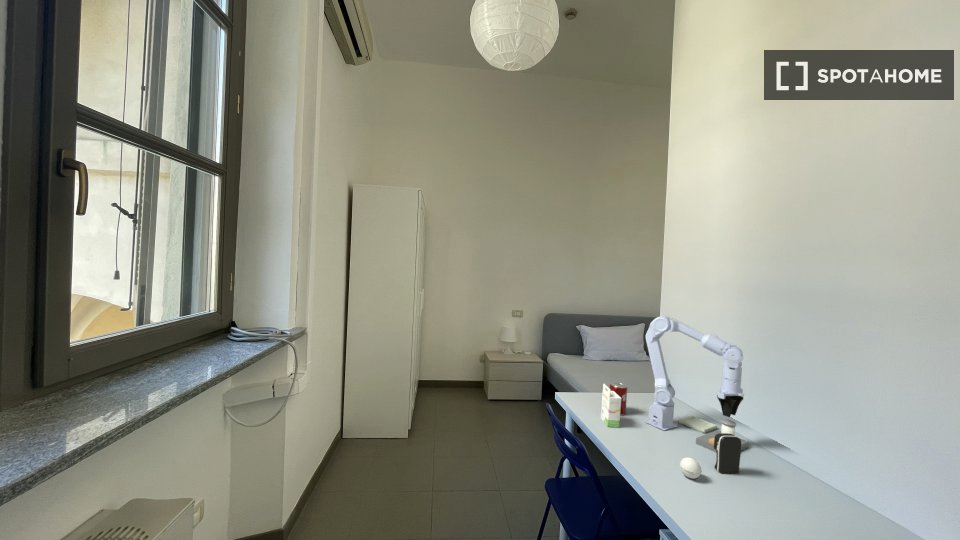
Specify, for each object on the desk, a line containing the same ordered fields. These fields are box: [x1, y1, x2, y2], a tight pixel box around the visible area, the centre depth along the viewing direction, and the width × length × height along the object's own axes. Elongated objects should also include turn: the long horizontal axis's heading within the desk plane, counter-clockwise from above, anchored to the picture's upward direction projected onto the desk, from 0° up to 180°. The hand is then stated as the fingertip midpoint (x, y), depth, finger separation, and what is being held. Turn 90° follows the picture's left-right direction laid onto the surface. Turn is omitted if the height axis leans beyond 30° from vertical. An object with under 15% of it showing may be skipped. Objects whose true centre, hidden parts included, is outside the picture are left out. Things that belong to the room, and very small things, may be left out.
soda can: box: [608, 382, 628, 416], centre depth 152 cm, size 7×7×12 cm
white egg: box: [679, 456, 708, 479], centre depth 105 cm, size 8×6×6 cm
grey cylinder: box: [720, 418, 737, 436], centre depth 130 cm, size 4×4×8 cm
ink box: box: [600, 383, 621, 429], centre depth 141 cm, size 9×5×15 cm, turn 179°
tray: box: [678, 415, 718, 435], centre depth 143 cm, size 10×10×2 cm
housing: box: [695, 429, 749, 453], centre depth 128 cm, size 16×10×2 cm, turn 121°
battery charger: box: [714, 433, 742, 474], centre depth 111 cm, size 7×4×11 cm, turn 94°
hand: (729, 415), depth 130 cm, fingers open, 3 cm apart
